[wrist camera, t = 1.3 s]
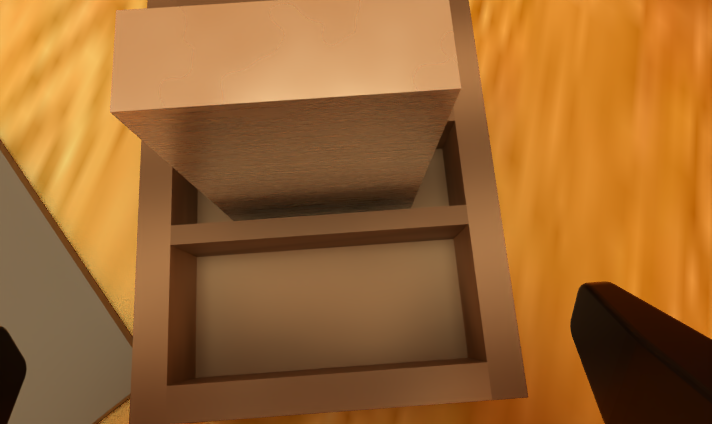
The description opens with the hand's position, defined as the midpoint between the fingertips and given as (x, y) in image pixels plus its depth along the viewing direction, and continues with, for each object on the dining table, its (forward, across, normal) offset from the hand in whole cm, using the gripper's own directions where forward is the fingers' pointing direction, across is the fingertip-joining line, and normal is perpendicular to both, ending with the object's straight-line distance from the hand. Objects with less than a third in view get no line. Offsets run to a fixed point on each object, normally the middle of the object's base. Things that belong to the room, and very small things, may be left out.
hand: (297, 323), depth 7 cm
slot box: (+11, 0, +5) cm, 12 cm away
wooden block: (+9, 0, +3) cm, 10 cm away
